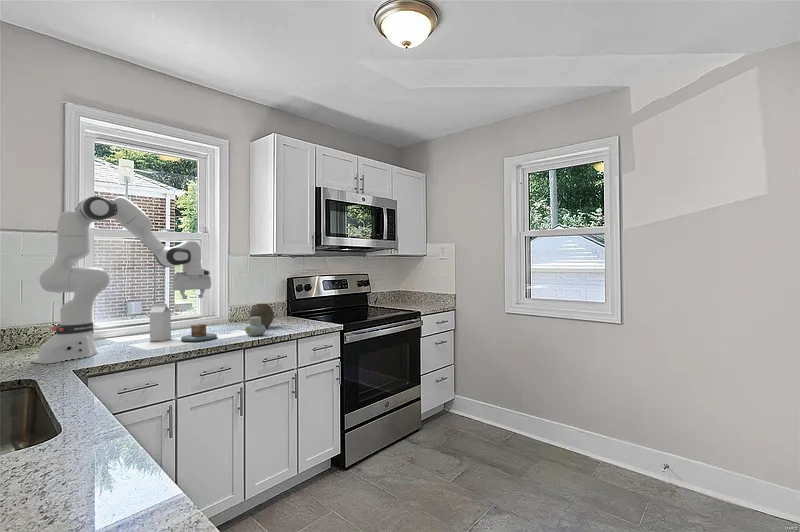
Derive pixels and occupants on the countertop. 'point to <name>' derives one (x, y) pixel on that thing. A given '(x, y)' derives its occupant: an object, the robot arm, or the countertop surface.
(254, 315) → the dark rounded stone
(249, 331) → the air freshener
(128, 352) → the countertop surface
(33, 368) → the countertop surface
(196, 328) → the block
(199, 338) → the dish
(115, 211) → the robot arm
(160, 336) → the milk carton
